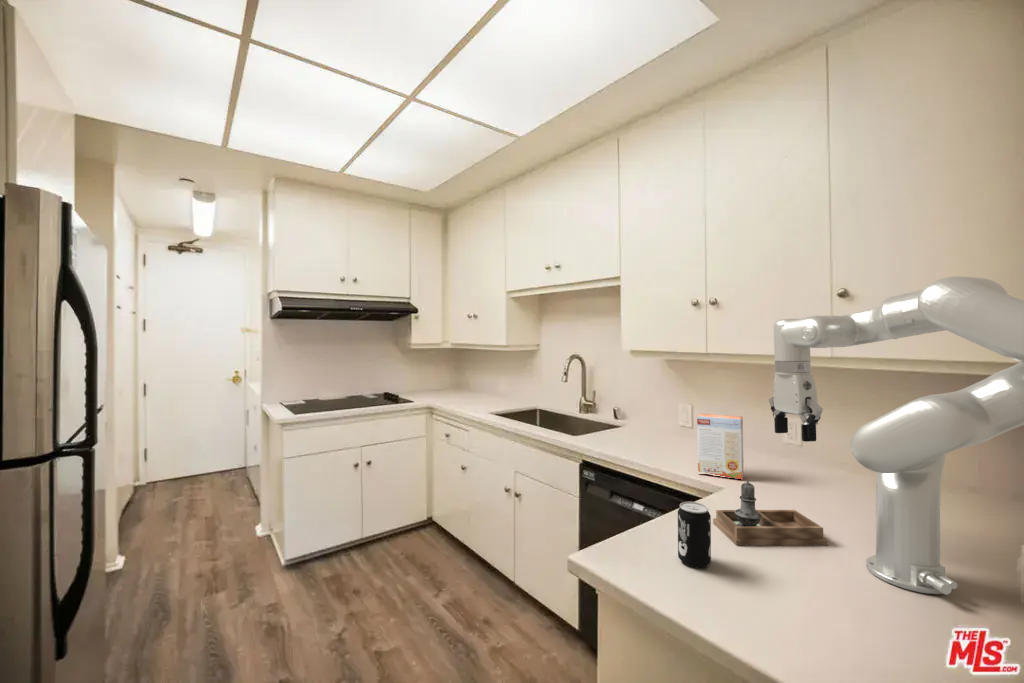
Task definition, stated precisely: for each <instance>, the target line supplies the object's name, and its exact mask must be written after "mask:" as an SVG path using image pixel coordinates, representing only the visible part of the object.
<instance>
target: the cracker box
mask: <svg viewBox="0 0 1024 683" xmlns="http://www.w3.org/2000/svg"><path fill="white" fill-rule="evenodd" d="M696 421H697V422H696V423H697V424H696V426H697V427H696V430H697V434H696V435H697V436H696V437H697V439H696V440H697V445H696V446H697V472H698V471H699V472H705V473H710V474H715V475H720V476H725V477H730V478H736V479H741V480H740V481H743V479H744V474H745V473H744V430H743V429H744V424H743V422H744V421H743V416H739V415H724V414H712V413H711V414H710V413H699V414H698V415H697V418H696Z"/></svg>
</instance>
